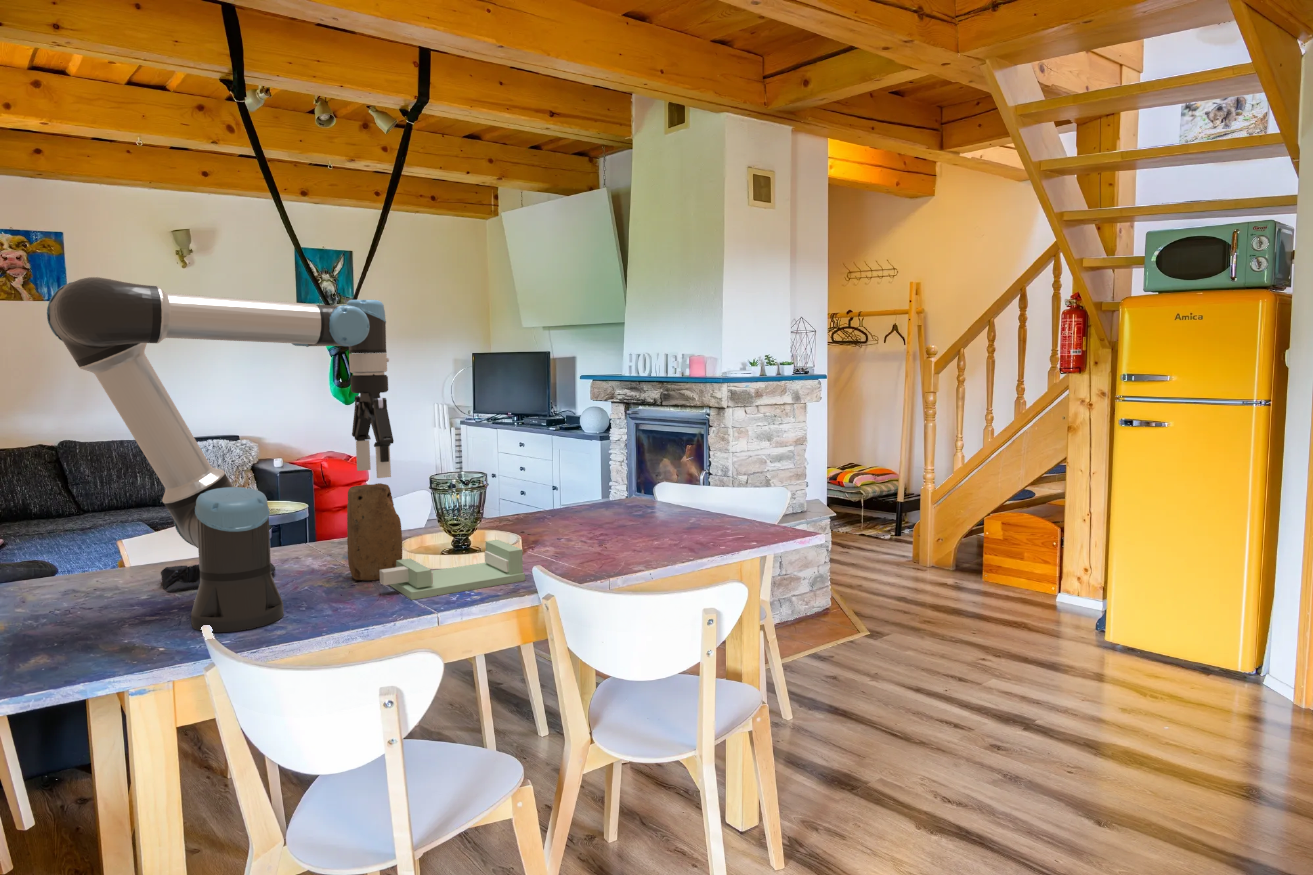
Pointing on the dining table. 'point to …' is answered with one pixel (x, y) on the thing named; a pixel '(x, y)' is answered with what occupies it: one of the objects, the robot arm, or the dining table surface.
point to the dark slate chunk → (184, 577)
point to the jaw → (407, 574)
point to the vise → (473, 573)
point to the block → (372, 531)
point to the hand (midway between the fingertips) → (373, 473)
